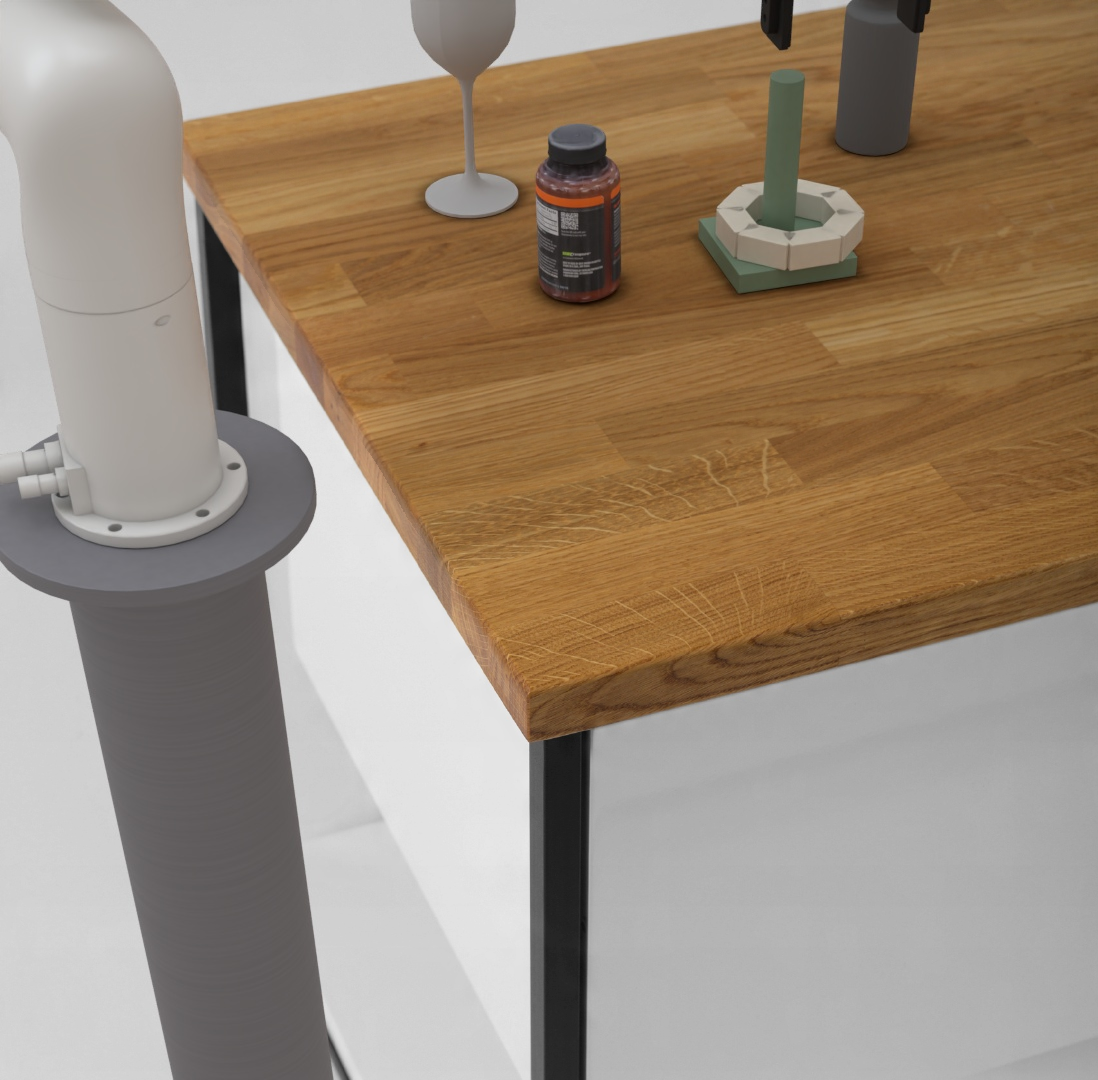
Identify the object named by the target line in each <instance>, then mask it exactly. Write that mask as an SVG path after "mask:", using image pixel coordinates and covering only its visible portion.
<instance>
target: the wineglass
mask: <svg viewBox="0 0 1098 1080" xmlns="http://www.w3.org/2000/svg"><path fill="white" fill-rule="evenodd" d="M516 3H517V2H516V0H410V15H411V23H412V27H413V32H414V35H415V36H416V39H417V41H418V43H419V45H420V47H421V48H422V50H423V51H424V52H425V53H426V54H427V55H428V57H430V59H431V60H432V61H433V62H435V63H436V64H437V65H438V66H439V67H441V68H442V69H444V71H446V72H447V73H448V74H450V75H451V76H453V77H454V78H456V80H457V82H458V84H459V86H460V91H461V96H462V114H463V135H464V136H463V137H464V139H463V140H464V158H465V159H464V160H465V163H464V164H465V165H464V173H463V172H462V173H456V174H452V175H447V176H445V177H443V178H440V179H438V180H436V181H434V182H433V183H431V184H430V185H429V186H428V187H427V189H426V191H425V193H424V197H425V199H424V200H425V203H426V204H427V206H428V207H429V208H430V209H431V210H432V211H433V212H437V213H438V214H440V215H444V216H448V217H451V218H457V219H478V218H479V219H480V218H487V217H492V216H495V215H498V214H502V213H504V212H506V211H507V210H509V209H511V208H512V207H513V206H514V205H515V204H516V203H517V202H518V199H519V189H518V187H517V186H516V184H515V183H514V182H512V181H511V180H510V179H507V178H505V177H503V176H501V175H496V174H493V173H485V172H478V171H477V167H476V155H475V153H476V152H475V131H474V108H473V92H474V91H473V90H474V84H475V82H476V80H477V77H479V76H480V75H481V74H483V73H484V72H485V71H486V70H487V69H488V68H489V67H490V66H491V65H492V64H493V63H495V62H496V61H497V59H499V57H500V56H501V55H502V54H503V52H504V51H505V50H506V48H507V47H508V45H509V44H510V41H511V39H512V36H513V34H514V33H513V32H514V30H515V26H516V16H517V4H516Z"/></svg>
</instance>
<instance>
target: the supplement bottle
mask: <svg viewBox="0 0 1098 1080" xmlns="http://www.w3.org/2000/svg"><path fill="white" fill-rule="evenodd" d="M547 147H548V148H547V155H548V157H547V158H545V159H544V160H543V161H542V162H541V163H540V164H539V166H538V168H537V169H536V173H535V207H536V209H535V211H536V212H535V213H536V232H537V233H536V234H537V235H536V237H537V238H536V239H537V264H538V266H537V268H538V269H537V270H538V271H537V272H538V283H539V285H540V286H539V287H540V288H541V289H542V291H543V292H544V293H545V294H547V295H548V296H550V297H551V298H553V299H555V300H558V301H562V302H563V301H564V302H569V303H589V302H594V301H598V300H601V299H603V298H605V297H606V298H607V297H608V296H610V295H612V294H613V293H614V292H615V291H616V290H617V289H618V287H620V283H621V279H622V277H621V276H622V274H621V273H622V239H621V238H622V211H621V206H622V205H621V203H622V202H621V201H622V200H621V196H622V195H621V194H622V193H621V173H620V169H619V167H618V165H617V164H616V163H615V161H614V160H613V159H612V158H611V157H609V156H607V152H608V150H607V136H606V133H605V131H604V130H602V129H601V128H600V127H597V126H595V125H593V124H588V123H570V124H569V123H568V124H565V125H561V126H559V127H556V128H554V129H553V130H551V131H550V132H549V134H548V137H547Z"/></svg>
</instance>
